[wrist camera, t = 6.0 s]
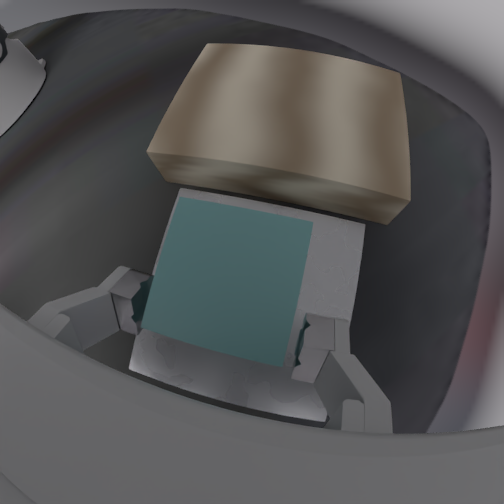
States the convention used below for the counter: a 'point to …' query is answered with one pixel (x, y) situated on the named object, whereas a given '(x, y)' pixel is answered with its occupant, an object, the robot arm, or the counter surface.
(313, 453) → the robot arm
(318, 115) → the riser block
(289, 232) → the teal square-faced block
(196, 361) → the post stand
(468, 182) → the counter surface
